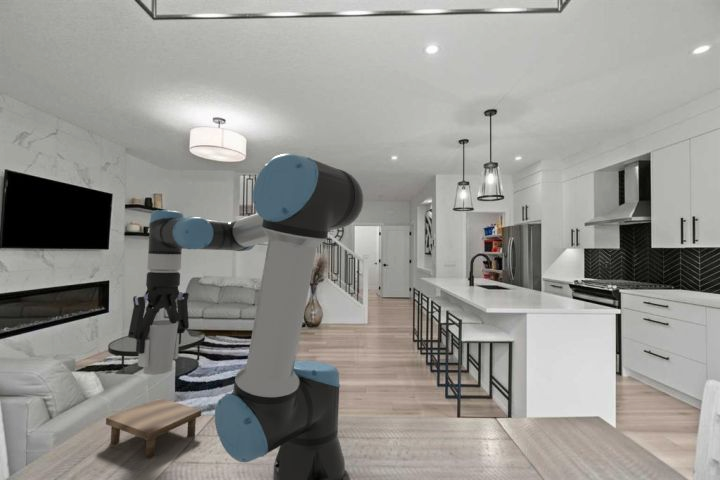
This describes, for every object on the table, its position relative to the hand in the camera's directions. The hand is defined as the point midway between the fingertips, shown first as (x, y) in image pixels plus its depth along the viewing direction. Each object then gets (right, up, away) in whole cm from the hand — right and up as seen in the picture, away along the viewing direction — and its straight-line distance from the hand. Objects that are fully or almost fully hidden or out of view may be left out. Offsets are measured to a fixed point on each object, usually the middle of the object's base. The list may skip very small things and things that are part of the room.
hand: (158, 361), depth 90 cm
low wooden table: (-1, -19, -1) cm, 19 cm away
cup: (0, -2, 0) cm, 2 cm away
